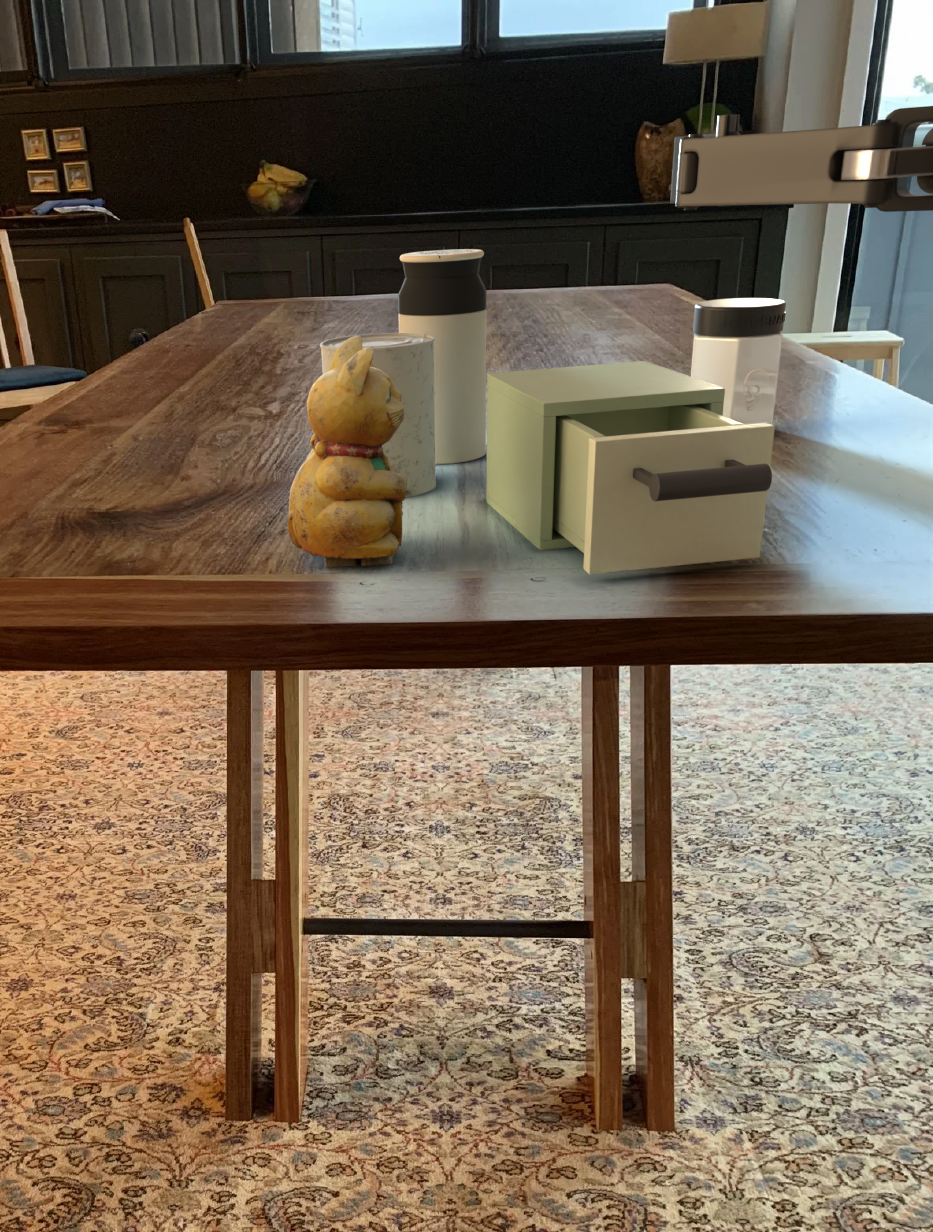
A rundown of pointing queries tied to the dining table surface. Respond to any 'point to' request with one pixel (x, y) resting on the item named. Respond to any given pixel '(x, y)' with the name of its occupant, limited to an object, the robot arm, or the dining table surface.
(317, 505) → the decorative figurine
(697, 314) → the jar
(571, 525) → the drawer
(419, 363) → the white can
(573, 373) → the cabinet
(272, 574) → the dining table surface
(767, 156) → the robot arm
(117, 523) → the dining table surface
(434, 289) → the travel mug
